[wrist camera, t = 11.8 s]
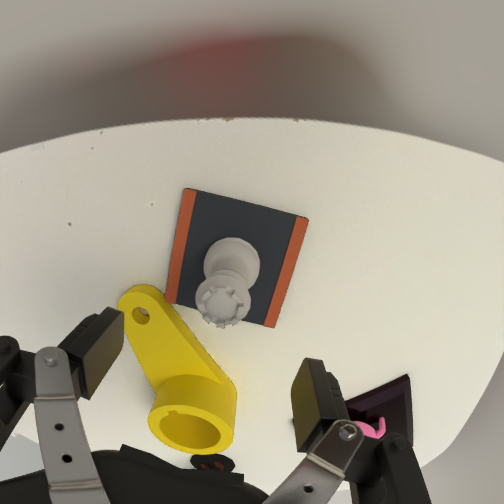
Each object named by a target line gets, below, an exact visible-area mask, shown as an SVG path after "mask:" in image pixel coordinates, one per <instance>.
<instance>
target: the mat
mask: <svg viewBox="0 0 504 504" xmlns="http://www.w3.org/2000/svg"><path fill="white" fill-rule="evenodd" d="M308 222H309V220H308V219H307V218H305V217H302V216H298V215H295V214H291V213H287V212H284V211H280V210H276V209H272V208H268V207H265V206H261V205H257V204H253V203H249V202H245V201H241V200H237V199H233V198H229V197H225V196H220V195H216V194H212V193H208V192H203V191H199V190H195V189H190V188H186V189H184V194H183V198H182V203H181V208H180V213H179V218H178V223H177V228H176V234H175V239H174V245H173V251H172V257H171V263H170V269H169V275H168V282H167V289H166V296H165V302H169V303H173V304H179V305H183V306H186V307H190V308H194V309H198V307H197V305H196V292H197V290H198V288H199V285H200V284H201V283H203V282H204V281H205V280H206V276H205V274H204V260H205V256H206V254H207V252H208V250H209V248H210V247H211V246H212V245H213V244H214V243H216V242H217V241H219V240H222V239H225V238H240V239H242V240H244V241H246V242H248V243H250V245H251V246H252V247H253V248H254V249H255V250H256V251H257V254H258V257H259V260H260V269H259V276H258V277H257V279H256V281H255V283H254V285H253V286H251V287H250V288H249V289H248V292H249V295H250V297H251V303H250V309H249V311H248V313H247V315H246V316H245V317H244V318H243V319H241V320H242V321H247V322H251V323H255V324H260V325H264V326H265V327H270V328H275V325H276V322H277V319H278V316H279V313H280V310H281V307H282V304H283V301H284V298H285V295H286V292H287V289H288V286H289V283H290V280H291V277H292V274H293V271H294V268H295V264H296V261H297V258H298V255H299V252H300V248H301V245H302V242H303V238H304V235H305V232H306V228H307V225H308Z"/></svg>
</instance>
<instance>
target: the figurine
mask: <svg viewBox="0 0 504 504" xmlns="http://www.w3.org/2000/svg"><path fill="white" fill-rule="evenodd" d="M190 462H191V464H192V465H193V466H194V467H195V468H197V469H215V470H220V471H226V472H231V471H232V470H233V469H234V468H235V464H234V462H233V460H231V459H229V458H228V457H226V456H224V455H220V454H215V453H214V454H207V455H199V454H196V455H193V456H192V458H191V460H190Z"/></svg>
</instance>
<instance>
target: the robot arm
mask: <svg viewBox="0 0 504 504" xmlns="http://www.w3.org/2000/svg"><path fill="white" fill-rule="evenodd" d="M123 342H124V312H123V311H120V310H117V309H114V308H111V307H106V308H105V309H104V310H103V311H102V313H101V314H100V315H98V314H92V315H90V316H88V317H86V318H85V319H84V320H83V321H82V322H81V323H80V324H79V325H78V326H77V327H76V328H75V329H74V330H73V331H72V332H71V333H70V334H69V335H68V336H67V337H66V338H65V339H64V340H63V341H62V342H61V343H60V344H59V345H58V346H57V347H45V348H42V349H40V350H39V351H38V352H37V353H32V352H28V351H23V350H20V348H19V344H18V342H17V340H16V339H14V338H13V337H10V336H0V386H1V385H2V384H3V385H2V386H1V388H0V451H1V449H2V448H3V446H4V444H5V443H6V440H7V439H8V438H9V436H10V434H11V433H12V431H13V429H14V428H15V426H16V425H17V423H18V421H19V420H20V418H21V417H22V415H23V414H24V412H25V411H26V409H27V408H28V406H29V405H30V403H33V404H34V409H35V417H36V425H37V432H38V438H39V444H40V449H41V454H42V459H43V463H44V468H45V469H42V470H39V471H36V472H33V473H30V474H26V475H23V476H19V477H15V478H12V479H8V480H4V481H0V504H327V503H328V502H329V500H330V499H331V497H332V496H333V494H334V493H335V491H336V490H337V489H338V487H339V485H340V484H341V482H342V481H343V480H344V481H348V482H349V484H350V490H351V497H352V504H432V503H431V500H430V497H429V494H428V491H427V488H426V485H425V482H424V479H423V476H422V473H421V470H420V467H419V464H418V461H417V459H416V456H415V453H414V451H413V448H412V445H411V443H410V441H409V440H408V439H407V438H406V437H405V436H403V435H401V434H399V433H389V434H387V435H385V437H384V438H383V439H382V440H381V439H377V438H373V437H369V436H366V435H364V432H363V430H362V428H361V427H360V426H359V425H358V424H356V423H355V422H353V421H350V418H349V415H348V411H347V408H346V405H345V402H344V399H343V397H342V393H341V391H340V386H339V383H338V380H337V379H336V378H335V377H334V376H333V374H332V373H331V372H326V370H325V366H324V363H323V361H322V360H318V359H312V358H305V359H304V360H303V362H302V364H301V366H300V369H299V371H298V373H297V375H296V377H295V379H294V381H293V384H292V388H291V401H292V410H293V418H294V427H295V436H296V445H297V452H302V453H307V456H306V457H305V458H304V459H303V461H302V462H301V463H300V464H299V465H298V466H297V467H296V469H295V470H294V471H293V472H292V473H291V474H290V475H289V476H288V477H287V478H286V479H285V481H284V482H283V483H282V484H281V485H280V486H279V487H278V488H277V489H276V490H275V491H274V492H273V493H272V494H271V495H270V496H269V495H267V494H266V493H265V492H263V491H262V490H260V489H259V488H257V487H255V486H253V485H251V484H249V483H246V482H244V474H239V473H233V472H226V471H220V470H215V469H181V468H178V467H176V466H174V465H172V464H170V463H168V462H166V461H164V460H162V459H160V458H158V457H156V456H155V455H153V454H151V453H148V452H144V451H141V450H138V449H136V448H133V447H130V446H127V445H124V444H122V446H121V448H120V451H118V450H99V451H93V452H91V450H90V447H89V444H88V441H87V438H86V434H85V431H84V427H83V424H82V420H81V416H80V412H79V408H78V404H77V401H78V400H79V398H80V397H83V398H85V399H87V400H90V398H91V397H92V395H93V394H94V392H95V390H96V389H97V387H98V386H99V384H100V383H101V381H102V379H103V378H104V376H105V375H106V373H107V372H108V370H109V369H110V367H111V366H112V364H113V363H114V361H115V360H116V358H117V357H118V355H119V354H120V352H121V350H122V347H123Z"/></svg>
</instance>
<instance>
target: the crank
mask: <svg viewBox="0 0 504 504" xmlns="http://www.w3.org/2000/svg"><path fill="white" fill-rule="evenodd" d="M138 307H141V308H143V309H145V310H146V311H147V312H148V314H149V316H146V315H144V314H142V313H141V312H140V310H139V308H138ZM117 310H120V311H123V312H124V331H125V333H126V335H127V337H128V339H129V342H130V344H131V346H132V348H133V350H134V352H135V354H136V357H137V359H138V361H139V363H140V365H141V367H142V369H143V371H144V373H145V375H146V376H147V378H148V380H149V382H150V384H151V386H152V388H153V390H154V391H155V393H156V395H157V396H156V398H155V401H154V403H153V406H152V408H151V411H150V413H149V416H148V426H149V428H150V430H151V432H152V433H153V434H154V436H155V437H156V438H158V439H159V440H160V441H161V442H163V443H164V444H166V445H168V446H169V447H171V448H174V449H176V450H179V451H182V452H186V453H190V454H199V455H207V454H214V453H218V452H221V451H223V450H225V449H227V448H228V447H229V446H230V445H231V444H232V442H233V436H234V425H235V413H236V401H237V392H236V388H235V386H234V385H233V383H232V382H231V381H230V379H229V378H228V377H227V376H226V375H225V374H224V372H223V371H222V370H221V369H220V368H219V366H218V365H217V364H216V363H215V362H214V360H213V359H212V358H211V357H210V355H209V354H208V353H207V352H206V350H205V349H204V348H203V347H202V345H201V344H200V343H199V342H198V340H197V339H196V338H195V337H194V335H193V334H192V333H191V331H190V330H189V329H188V327H187V326H186V325H185V323H184V322H183V321H182V319H181V318H180V317H179V315H178V314H177V313H176V311H175V310H174V309H173V307H172V306H171V304H170V303H169V302H165V296H164V295H163V294H162V293H161V292H160V291H159V290H158V289H156V288H154V287H152V286H149V285H143V284H142V285H136V286H133V287H132V288H130V289H129V290H128V291H127V292H126V293H125V294H124V295H123V297H122V298H121V299H120V301H119V303H118V307H117Z"/></svg>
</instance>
